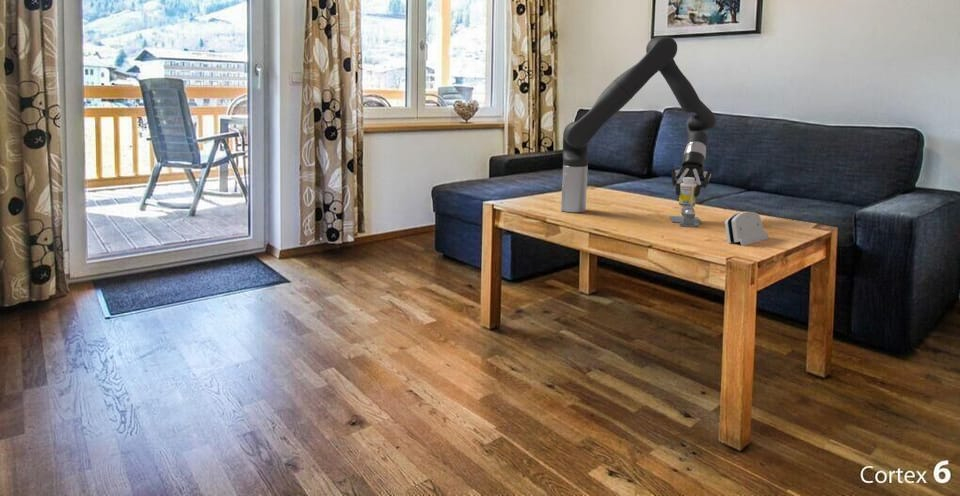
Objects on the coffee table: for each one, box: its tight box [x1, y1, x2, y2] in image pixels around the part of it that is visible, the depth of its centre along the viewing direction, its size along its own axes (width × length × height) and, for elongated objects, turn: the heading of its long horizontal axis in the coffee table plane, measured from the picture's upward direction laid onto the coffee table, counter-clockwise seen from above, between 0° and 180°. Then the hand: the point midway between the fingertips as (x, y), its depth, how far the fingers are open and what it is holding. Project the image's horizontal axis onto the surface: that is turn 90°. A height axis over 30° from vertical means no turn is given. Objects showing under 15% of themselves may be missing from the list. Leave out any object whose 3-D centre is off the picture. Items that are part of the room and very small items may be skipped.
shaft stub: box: [678, 205, 700, 228], centre depth 229 cm, size 6×7×6 cm
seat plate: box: [669, 215, 703, 225], centre depth 237 cm, size 10×10×1 cm
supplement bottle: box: [678, 177, 697, 208], centre depth 234 cm, size 6×6×10 cm
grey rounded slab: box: [724, 211, 770, 247], centre depth 208 cm, size 17×5×10 cm, turn 129°
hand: (687, 194), depth 233 cm, fingers closed on supplement bottle, 5 cm apart
